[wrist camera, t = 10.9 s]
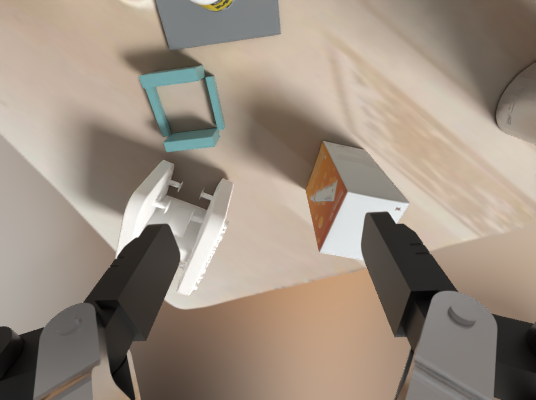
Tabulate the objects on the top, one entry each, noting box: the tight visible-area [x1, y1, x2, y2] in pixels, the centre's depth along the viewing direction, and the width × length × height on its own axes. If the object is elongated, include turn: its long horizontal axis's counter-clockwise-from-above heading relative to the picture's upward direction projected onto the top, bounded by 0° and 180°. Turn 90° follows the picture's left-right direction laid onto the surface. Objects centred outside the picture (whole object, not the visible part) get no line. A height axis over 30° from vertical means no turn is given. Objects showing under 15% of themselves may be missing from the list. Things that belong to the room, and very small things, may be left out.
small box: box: [306, 141, 410, 260], centre depth 30 cm, size 8×6×13 cm
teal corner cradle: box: [139, 65, 225, 152], centre depth 29 cm, size 8×8×4 cm
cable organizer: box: [115, 160, 234, 296], centre depth 33 cm, size 15×11×12 cm
